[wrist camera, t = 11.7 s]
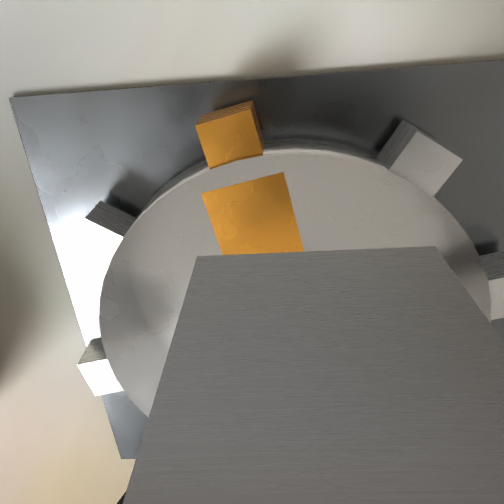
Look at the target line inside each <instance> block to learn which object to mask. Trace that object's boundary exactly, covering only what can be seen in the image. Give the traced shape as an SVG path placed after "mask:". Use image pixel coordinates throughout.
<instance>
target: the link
mask: <svg viewBox="0 0 504 504" xmlns="http://www.w3.org/2000/svg"><path fill="white" fill-rule="evenodd" d="M123 504H504V342H503V340H502V339H501V337H500V336H499V335H498V333H497V332H496V330H495V329H494V328H493V326H492V325H491V323H490V322H489V321H488V319H487V318H486V316H485V315H484V314H483V312H482V311H481V310H480V308H479V307H478V305H477V304H476V303H475V301H474V300H473V298H472V297H471V296H470V294H469V293H468V291H467V290H466V289H465V287H464V286H463V284H462V283H461V282H460V280H459V279H458V277H457V276H456V275H455V273H454V272H453V271H452V269H451V268H450V266H449V265H448V264H447V262H446V261H445V259H444V258H443V257H442V255H441V254H440V252H439V251H438V250H437V248H436V247H435V246H424V247H400V248H377V249H353V250H330V251H306V252H283V253H259V254H236V255H212V256H197V258H196V261H195V265H194V268H193V271H192V275H191V278H190V281H189V285H188V288H187V291H186V295H185V298H184V301H183V305H182V308H181V311H180V315H179V318H178V321H177V325H176V328H175V331H174V335H173V338H172V341H171V344H170V348H169V351H168V354H167V358H166V361H165V364H164V368H163V371H162V374H161V378H160V381H159V384H158V388H157V391H156V394H155V398H154V401H153V404H152V408H151V411H150V414H149V418H148V421H147V424H146V428H145V431H144V434H143V438H142V441H141V444H140V448H139V451H138V454H137V458H136V461H135V464H134V468H133V471H132V474H131V478H130V481H129V484H128V488H127V491H126V494H125V498H124V501H123Z"/></svg>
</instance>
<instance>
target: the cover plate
mask: <svg viewBox="0 0 504 504" xmlns="http://www.w3.org/2000/svg"><path fill="white" fill-rule="evenodd" d="M251 100H253V103H254V107H255V111H256V114H257V118H258V122H259V125H260V129H261V133H262V136H263V140H264V141H265V140H277V139H291V138H297V139H314V140H324V141H330V142H335V143H340V144H345V145H350V146H353V147H356V148H358V149H361V150H364V151H367V152H370V153H373V154H376V155H378V154H379V153H380V151H381V150H382V149H383V147H384V146H385V144H386V143H387V141H388V140H389V139H390V137H391V136H392V134H393V133H394V132H395V130H396V129H397V127H398V126H399V125H400V123H401V122H402V120H405V121H406V122H408V123H410V124H411V125H413V126H414V127H416V128H418V129H419V130H421V131H422V132H424V133H426V134H427V135H429V136H430V137H432V138H434V139H435V140H437V141H438V142H440V143H442V144H443V145H445V146H446V147H447V148H449V149H450V150H451V151H453V152H454V153H455V154H456V155H458V156H459V157H460V158H462V159H463V160H462V162H461V163H460V164H459V165H458V167H457V168H456V169H455V170H454V172H453V173H452V174H451V175H450V177H449V178H448V179H447V180H446V181H445V183H444V184H443V185H442V186H441V188H440V189H439V190H438V191H437V193H436V194H435V195H434V196H435V197H436V198H437V199H438V200H439V201H440V202H441V203H442V204H443V206H444V207H445V208H446V209H447V210H448V211H449V212H450V213H451V215H452V216H453V217H454V218H455V219H456V221H457V222H458V223H459V224H460V226H461V227H462V228H463V230H464V231H465V232H466V234H467V235H468V236H469V238H470V239H471V241H472V243H473V245H474V247H475V249H476V251H477V253H478V254H479V256H482V255H486V254H491V253H496V252H500V251H504V60H495V61H482V62H468V63H455V64H442V65H428V66H415V67H402V68H389V69H375V70H362V71H349V72H336V73H322V74H309V75H296V76H283V77H269V78H256V79H243V80H230V81H216V82H203V83H190V84H176V85H163V86H150V87H137V88H123V89H110V90H97V91H84V92H70V93H57V94H44V95H31V96H17V97H10V98H9V101H10V104H11V107H12V110H13V114H14V117H15V120H16V123H17V126H18V130H19V133H20V136H21V139H22V142H23V146H24V149H25V152H26V155H27V158H28V162H29V165H30V168H31V171H32V174H33V178H34V181H35V184H36V187H37V190H38V194H39V197H40V200H41V203H42V207H43V210H44V213H45V216H46V219H47V223H48V226H49V229H50V232H51V235H52V239H53V242H54V245H55V248H56V251H57V255H58V258H59V261H60V264H61V267H62V271H63V274H64V277H65V280H66V283H67V287H68V290H69V293H70V296H71V299H72V303H73V306H74V309H75V312H76V315H77V319H78V322H79V325H80V328H81V331H82V335H83V338H84V341H85V344H86V347H87V346H88V344H89V342H90V341H91V339H94V338H99V337H101V332H100V325H99V303H100V295H101V290H102V285H103V280H104V277H105V275H104V274H102V273H100V272H98V271H96V270H93V269H91V268H89V267H87V266H85V265H83V264H81V263H78V262H76V261H74V260H72V259H70V258H68V256H69V254H70V252H71V249H72V247H73V244H74V242H75V240H76V237H77V235H78V232H79V230H80V228H81V225H82V223H83V220H84V218H85V217H86V216H87V215H88V214H89V213H90V211H91V210H92V209H93V208H94V207H95V206H96V205H97V204H98V203H99V201H100V200H101V201H103V202H105V203H107V204H109V205H111V206H113V207H115V208H117V209H119V210H121V211H123V212H125V213H127V214H129V215H131V216H133V217H135V218H136V217H137V216H138V214H139V213H140V212H141V210H142V209H143V208H144V207H145V205H146V204H147V203H148V202H149V200H150V199H151V198H152V197H153V196H154V195H155V194H156V193H157V192H158V191H159V190H160V189H161V188H162V187H164V186H165V185H166V184H167V183H168V182H169V181H170V180H171V179H173V178H174V177H176V176H177V175H179V174H180V173H182V172H183V171H184V170H186V169H187V168H189V167H190V166H192V165H194V164H196V163H198V162H200V161H202V160H204V159H206V157H205V154H204V151H203V148H202V145H201V142H200V139H199V136H198V133H197V130H196V127H195V125H196V123H197V122H198V120H199V119H200V117H201V116H202V115H203V114H206V113H210V112H213V111H216V110H220V109H223V108H227V107H230V106H234V105H237V104H241V103H244V102H248V101H251ZM491 325H492V326H493V328H494V329H495V330H496V332H497V333H498V335H499V336H500V337H501V339H502V340H503V342H504V318H499V319H494V320H491ZM101 396H102V399H103V402H104V405H105V408H106V412H107V415H108V418H109V421H110V424H111V428H112V431H113V434H114V437H115V440H116V444H117V447H118V450H119V453H120V456H121V459H136V458H137V454H138V451H139V448H140V444H141V441H142V438H143V434H144V431H145V428H146V424H147V421H148V417H147V416H146V415H145V414H144V413H143V412H142V411H141V410H139V408H138V407H137V406H136V405H135V404H134V403H133V401H132V400H131V399H130V398H129V397H128V396H127V394H126V393H125V391H119V392H114V393H109V394H104V395H101Z"/></svg>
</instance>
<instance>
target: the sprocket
mask: <svg viewBox="0 0 504 504" xmlns="http://www.w3.org/2000/svg"><path fill="white" fill-rule="evenodd" d="M195 127H196V130H197V133H198V136H199V139H200V142H201V145H202V148H203V151H204V154H205V157H206V159H204V160H202V161H200V162H198V163H196V164H194V165H192V166H190V167H189V168H187V169H186V170H184V171H183V172H182V173H180V174H179V175H177V176H176V177H174V178H173V179H171V180H170V181H169V182H168V183H167V184H166V185H165V186H164V187H162V188H161V189H160V190H159V191H158V192H157V193H156V194H155V195H154V196H153V197H152V198H151V199H150V200H149V202H148V203H147V204H146V205H145V207H144V208H143V209H142V210H141V212H140V213H139V214H138V216H137V217H136V218H135V217H133V216H131V215H129V214H127V213H125V212H123V211H121V210H119V209H117V208H115V207H113V206H111V205H109V204H107V203H105V202H103V201H101V200H100V201H99V203H98V204H97V205H96V206H95V207H94V208H93V209H92V210H91V211H90V213H89V214H88V215H87V216H86V217H85V218H84V220H83V223H82V225H81V228H80V230H79V232H78V235H77V237H76V240H75V242H74V244H73V247H72V249H71V252H70V254H69V256H68V258H70V259H72V260H74V261H76V262H78V263H81V264H83V265H85V266H87V267H89V268H91V269H93V270H96V271H98V272H100V273H102V274H104V275H105V277H104V280H103V285H102V290H101V295H100V303H99V325H100V332H101V337H99V338H94V339H91V341H90V342H89V344H88V346H87V348H86V350H85V352H84V353H83V355H82V357H81V359H80V361H79V363H78V364H77V366H78V368H79V369H80V371H81V373H82V374H83V376H84V378H85V379H86V381H87V383H88V384H89V386H90V388H91V389H92V391H93V393H94V394H95V396H98V395H104V394H109V393H114V392H119V391H125V393H126V394H127V396H128V397H129V398H130V399H131V400H132V401H133V403H134V404H135V405H136V406H137V407H138V408H139V410H141V411H142V412H143V413H144V414H145V415H146V416H147V417H148V418H149V414H150V411H151V408H152V404H153V401H154V398H155V394H156V391H157V388H158V384H159V381H160V378H161V374H162V371H163V368H164V364H165V361H166V358H167V354H168V351H169V348H170V344H171V341H172V338H173V335H174V331H175V328H176V325H177V321H178V318H179V315H180V311H181V308H182V305H183V301H184V298H185V295H186V291H187V288H188V285H189V281H190V278H191V275H192V271H193V268H194V265H195V261H196V258H197V256H212V255H236V254H259V253H283V252H306V251H330V250H353V249H377V248H400V247H424V246H435V247H436V248H437V250H438V251H439V252H440V254H441V255H442V257H443V258H444V259H445V261H446V262H447V264H448V265H449V266H450V268H451V269H452V271H453V272H454V273H455V275H456V276H457V277H458V279H459V280H460V282H461V283H462V284H463V286H464V287H465V289H466V290H467V291H468V293H469V294H470V296H471V297H472V298H473V300H474V301H475V303H476V304H477V305H478V307H479V308H480V310H481V311H482V312H483V314H484V315H485V316H486V318H487V319H488V321H489V322H490V323H491V320H494V319H499V318H504V251H500V252H496V253H491V254H486V255H482V256H479V254H478V253H477V251H476V249H475V247H474V245H473V243H472V241H471V239H470V238H469V236H468V235H467V234H466V232H465V231H464V230H463V228H462V227H461V226H460V224H459V223H458V222H457V221H456V219H455V218H454V217H453V216H452V215H451V213H450V212H449V211H448V210H447V209H446V208H445V207H444V206H443V204H442V203H441V202H440V201H439V200H438V199H437V198H436V197H435V196H434V195H435V194H436V193H437V191H438V190H439V189H440V188H441V186H442V185H443V184H444V183H445V181H446V180H447V179H448V178H449V177H450V175H451V174H452V173H453V172H454V170H455V169H456V168H457V167H458V165H459V164H460V163H461V162H462V160H463V159H462V158H460V157H459V156H458V155H456V154H455V153H454V152H453V151H451V150H450V149H449V148H447V147H446V146H445V145H443V144H442V143H440V142H438V141H437V140H435V139H434V138H432V137H430V136H429V135H427V134H426V133H424V132H422V131H421V130H419V129H418V128H416V127H414V126H413V125H411V124H410V123H408V122H406V121H405V120H402V122H401V123H400V125H399V126H398V127H397V129H396V130H395V132H394V133H393V134H392V136H391V137H390V139H389V140H388V141H387V143H386V144H385V146H384V147H383V149H382V150H381V151H380V153H379V154H378V155H376V154H373V153H370V152H367V151H364V150H361V149H358V148H356V147H353V146H350V145H345V144H340V143H335V142H330V141H324V140H314V139H297V138H291V139H277V140H265V141H264V140H263V136H262V133H261V129H260V125H259V122H258V118H257V114H256V111H255V107H254V103H253V100H251V101H248V102H244V103H241V104H237V105H234V106H230V107H227V108H223V109H220V110H216V111H213V112H210V113H206V114H203V115H202V116H201V117H200V119H199V120H198V122H197V123H196V125H195Z"/></svg>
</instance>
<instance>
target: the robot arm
mask: <svg viewBox="0 0 504 504" xmlns="http://www.w3.org/2000/svg"><path fill="white" fill-rule="evenodd" d="M125 494H126V492H125V493H124V495H123V496H122V497H121V499H120V500H119V501H118V503H117V504H123V501H124V498H125Z"/></svg>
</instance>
